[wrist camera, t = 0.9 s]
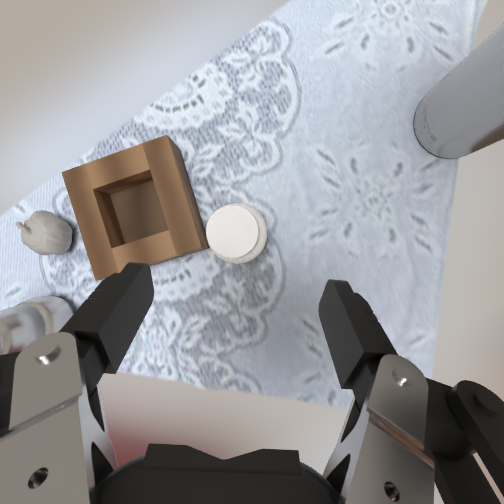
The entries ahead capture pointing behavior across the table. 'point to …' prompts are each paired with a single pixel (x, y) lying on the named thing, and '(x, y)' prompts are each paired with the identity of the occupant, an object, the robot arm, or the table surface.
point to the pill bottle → (237, 233)
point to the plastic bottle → (32, 322)
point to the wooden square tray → (135, 207)
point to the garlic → (46, 233)
